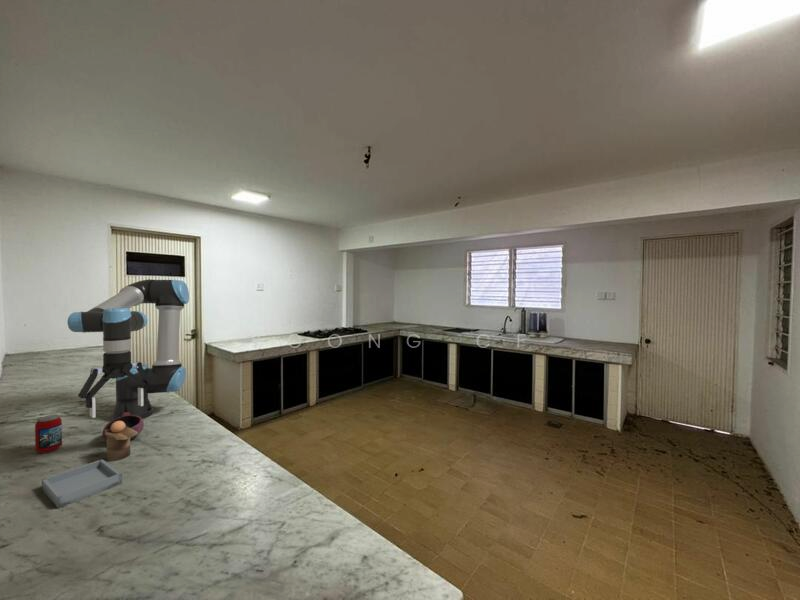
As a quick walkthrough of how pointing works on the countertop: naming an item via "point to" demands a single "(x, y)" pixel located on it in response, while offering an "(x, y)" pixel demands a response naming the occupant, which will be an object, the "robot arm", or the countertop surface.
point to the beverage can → (48, 433)
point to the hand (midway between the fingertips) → (117, 410)
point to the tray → (80, 482)
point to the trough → (119, 443)
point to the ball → (117, 426)
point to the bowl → (127, 423)
